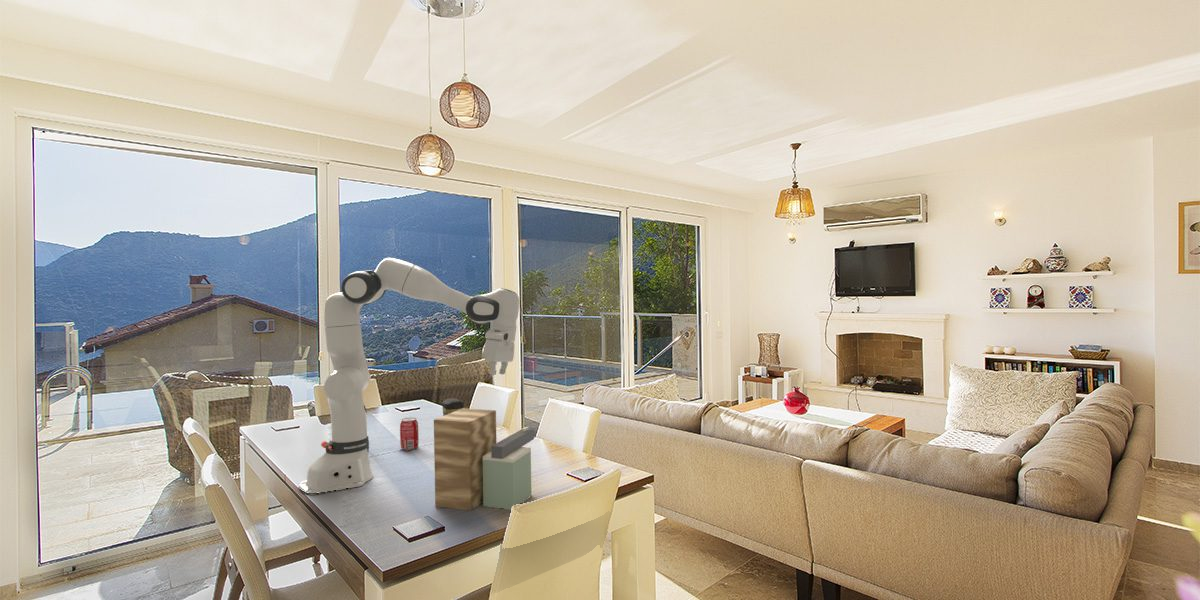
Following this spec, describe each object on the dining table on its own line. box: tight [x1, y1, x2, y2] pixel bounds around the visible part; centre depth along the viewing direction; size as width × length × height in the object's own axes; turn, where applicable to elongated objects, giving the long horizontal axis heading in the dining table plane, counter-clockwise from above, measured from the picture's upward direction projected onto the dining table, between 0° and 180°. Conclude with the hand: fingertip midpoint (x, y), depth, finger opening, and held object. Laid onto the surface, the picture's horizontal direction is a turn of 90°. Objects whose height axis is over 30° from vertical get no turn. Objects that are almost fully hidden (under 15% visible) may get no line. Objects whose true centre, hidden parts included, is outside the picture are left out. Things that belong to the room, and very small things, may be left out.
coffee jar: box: [442, 397, 465, 416], centre depth 234 cm, size 10×8×19 cm
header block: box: [482, 446, 532, 511], centre depth 170 cm, size 12×10×15 cm
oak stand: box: [433, 407, 497, 511], centre depth 172 cm, size 16×12×26 cm
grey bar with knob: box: [491, 426, 535, 459], centre depth 174 cm, size 22×4×4 cm, turn 162°
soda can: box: [399, 417, 420, 451], centre depth 227 cm, size 7×7×12 cm
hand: (497, 374), depth 194 cm, fingers open, 8 cm apart
